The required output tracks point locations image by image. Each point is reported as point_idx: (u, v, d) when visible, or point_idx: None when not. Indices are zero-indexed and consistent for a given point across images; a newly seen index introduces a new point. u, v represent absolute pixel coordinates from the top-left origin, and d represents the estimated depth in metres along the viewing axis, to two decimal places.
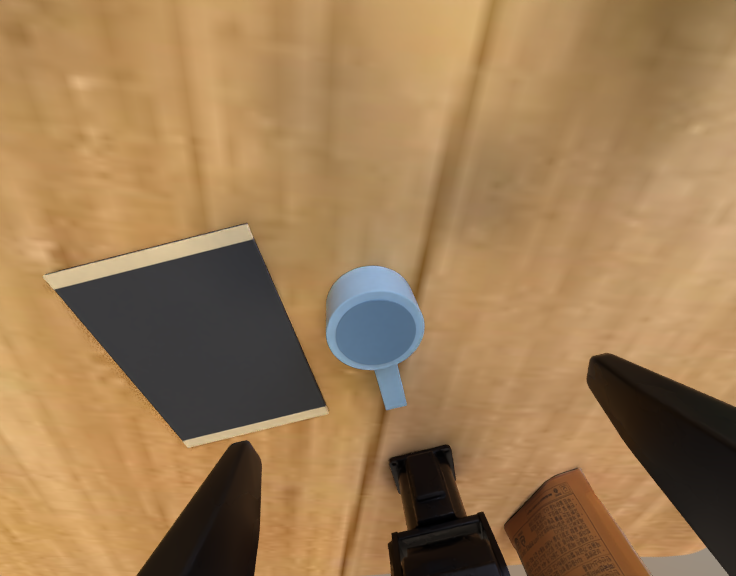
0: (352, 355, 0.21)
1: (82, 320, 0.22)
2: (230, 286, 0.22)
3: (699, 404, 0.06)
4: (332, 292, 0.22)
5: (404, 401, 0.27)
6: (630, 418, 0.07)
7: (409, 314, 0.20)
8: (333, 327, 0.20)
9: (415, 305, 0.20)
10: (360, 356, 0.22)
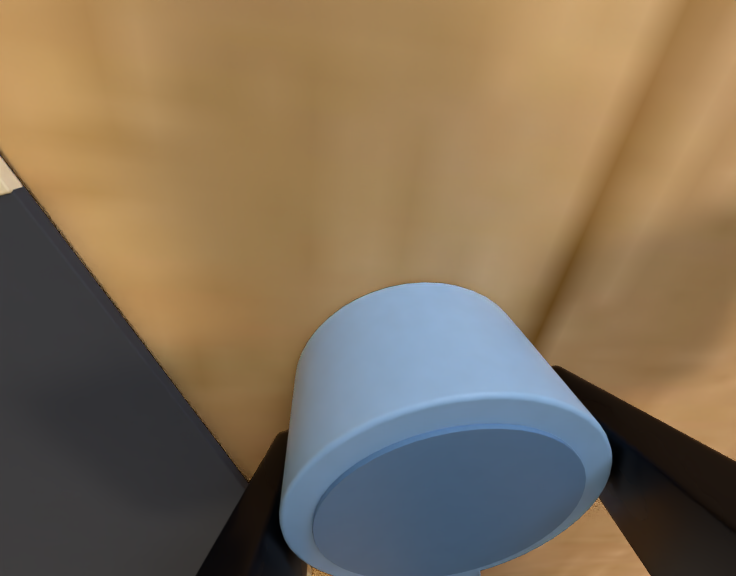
0: (368, 566, 0.07)
1: None
2: None
3: (632, 420, 0.06)
4: (308, 362, 0.07)
5: None
6: None
7: (571, 459, 0.06)
8: (302, 508, 0.06)
9: (602, 433, 0.06)
10: (393, 566, 0.07)
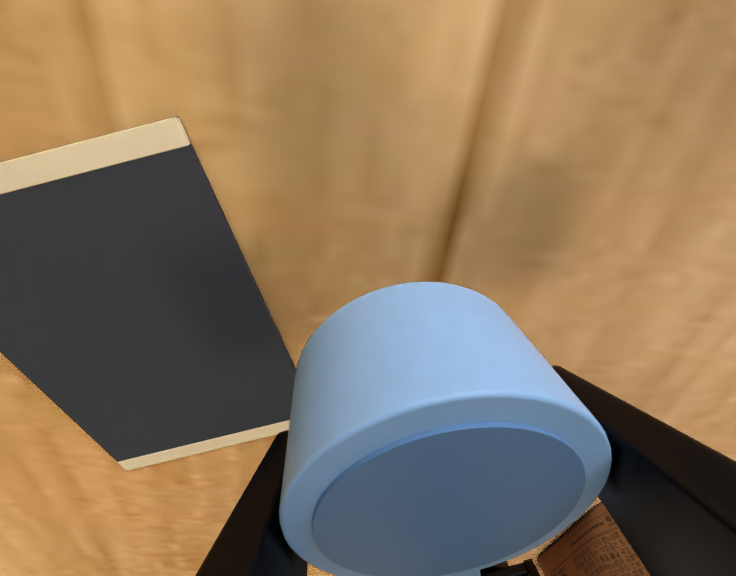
0: (368, 565, 0.07)
1: None
2: (160, 228, 0.14)
3: (631, 420, 0.06)
4: (307, 362, 0.07)
5: None
6: None
7: (571, 459, 0.06)
8: (302, 506, 0.06)
9: (601, 431, 0.06)
10: (392, 565, 0.07)
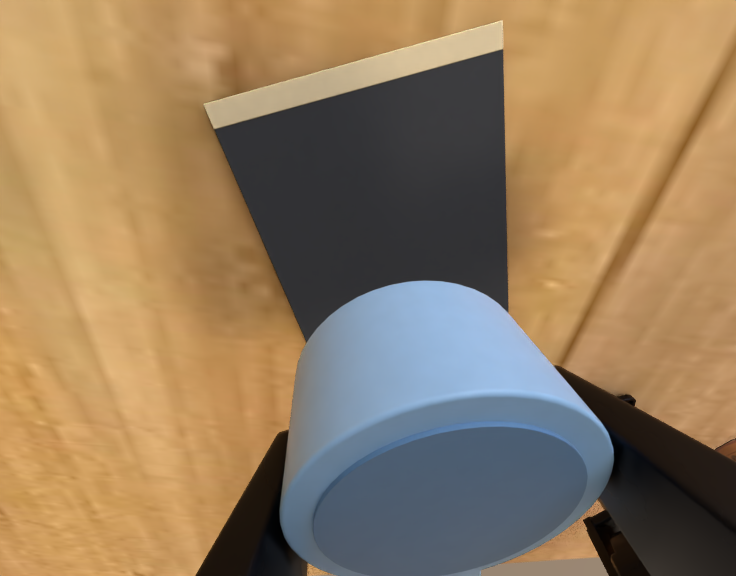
0: (369, 565, 0.07)
1: (241, 185, 0.16)
2: (449, 133, 0.15)
3: (631, 420, 0.06)
4: (308, 361, 0.07)
5: None
6: None
7: (572, 459, 0.06)
8: (303, 506, 0.06)
9: (604, 431, 0.06)
10: (393, 564, 0.07)
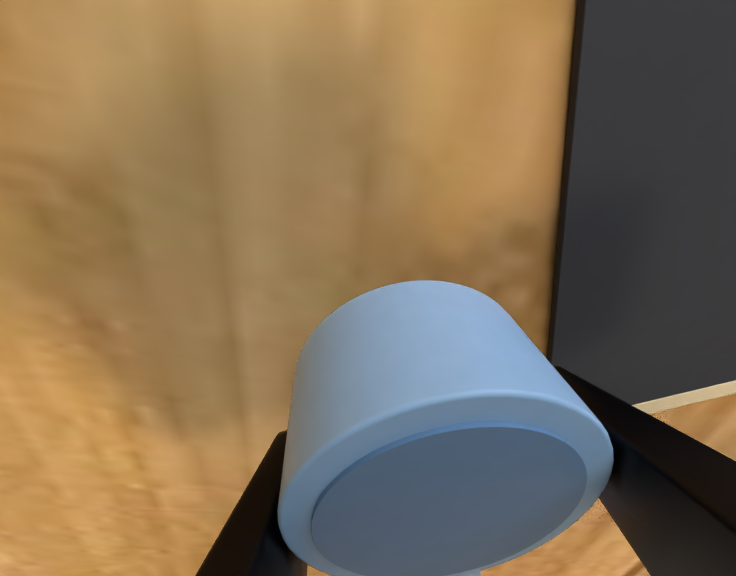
0: (368, 566, 0.07)
1: (580, 110, 0.09)
2: None
3: (632, 420, 0.06)
4: (306, 361, 0.07)
5: None
6: None
7: (572, 459, 0.06)
8: (301, 508, 0.06)
9: (603, 431, 0.05)
10: (392, 566, 0.07)
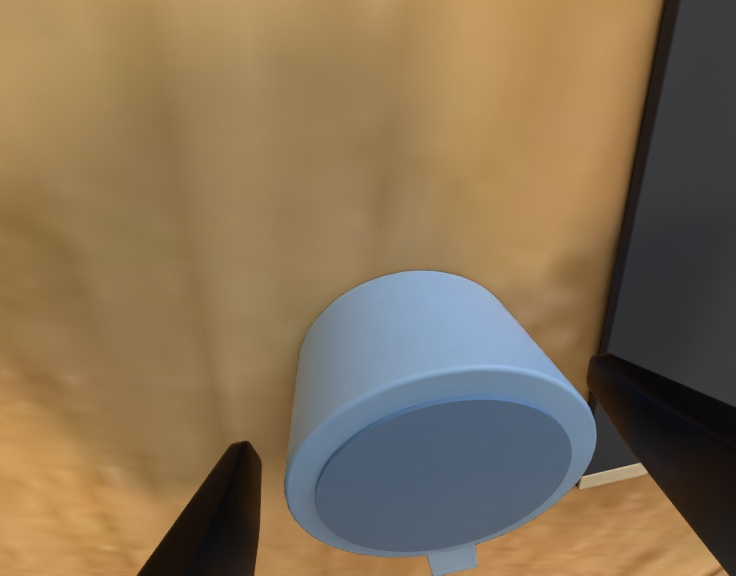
0: (368, 537, 0.07)
1: (662, 114, 0.07)
2: None
3: (699, 404, 0.06)
4: (310, 346, 0.08)
5: (473, 562, 0.12)
6: (630, 418, 0.07)
7: (558, 433, 0.06)
8: (306, 478, 0.06)
9: (586, 407, 0.06)
10: (391, 537, 0.07)
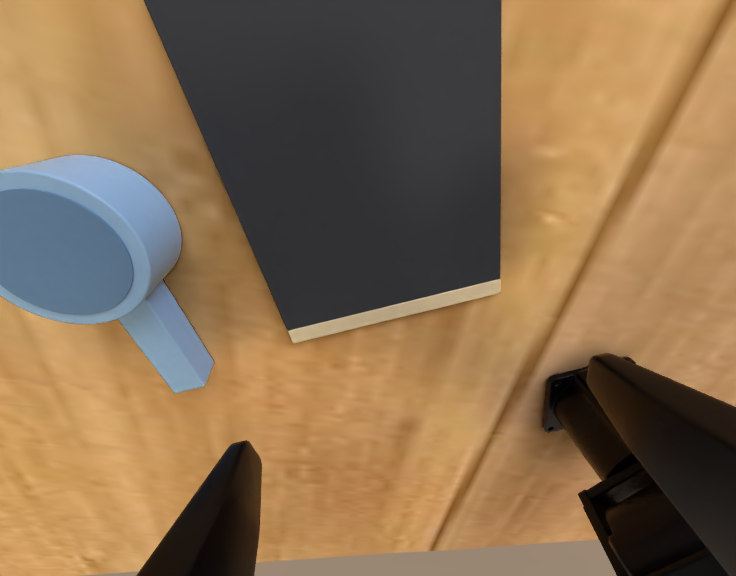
0: (31, 296, 0.13)
1: (173, 59, 0.12)
2: (434, 0, 0.12)
3: (699, 404, 0.06)
4: None
5: (197, 380, 0.18)
6: (630, 418, 0.07)
7: (102, 222, 0.12)
8: None
9: (107, 204, 0.12)
10: (47, 298, 0.13)
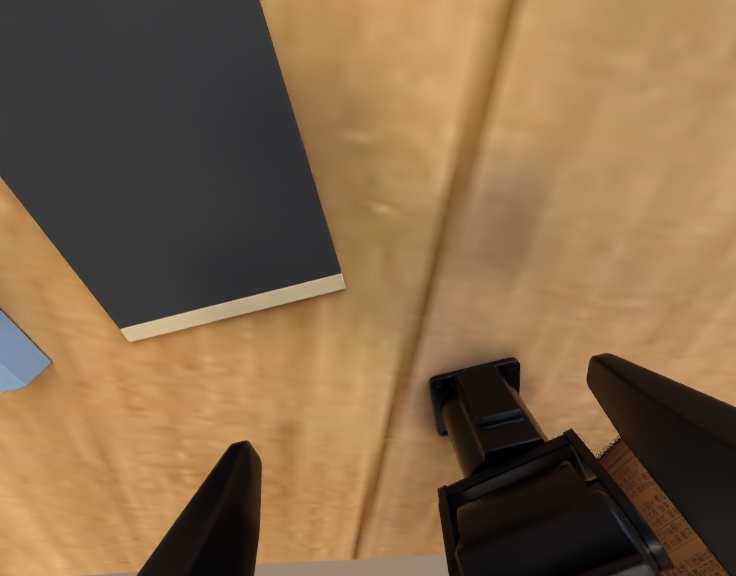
0: None
1: None
2: None
3: (699, 404, 0.06)
4: None
5: (15, 380, 0.17)
6: (630, 418, 0.07)
7: None
8: None
9: None
10: None
